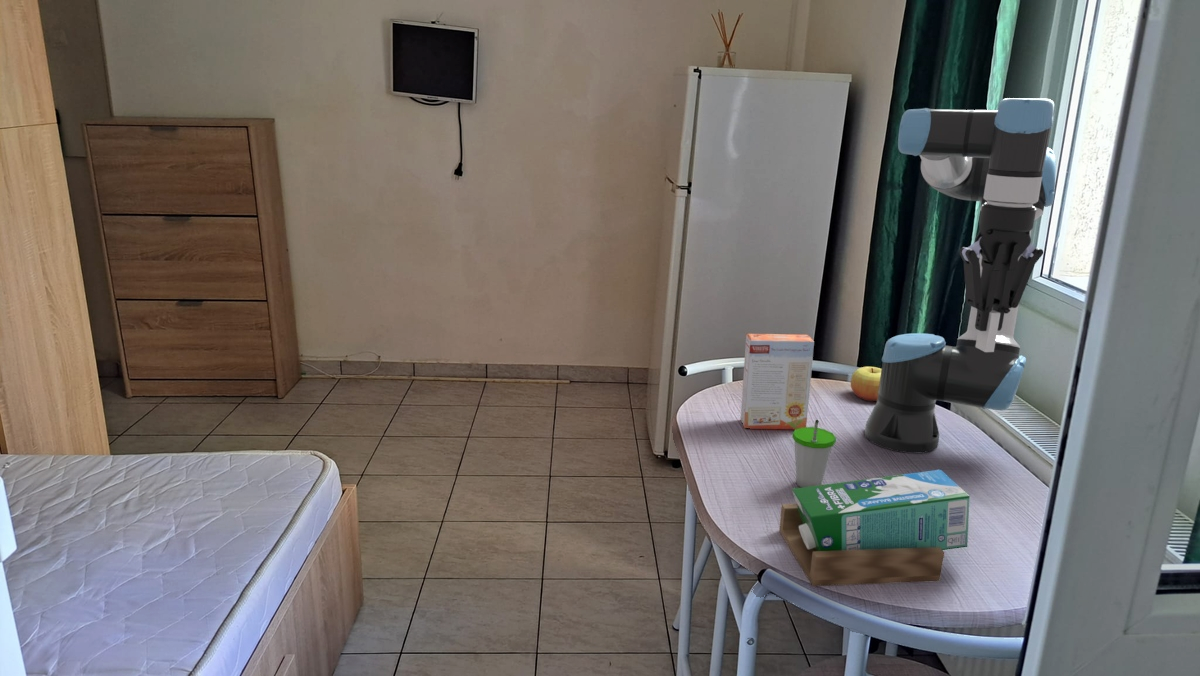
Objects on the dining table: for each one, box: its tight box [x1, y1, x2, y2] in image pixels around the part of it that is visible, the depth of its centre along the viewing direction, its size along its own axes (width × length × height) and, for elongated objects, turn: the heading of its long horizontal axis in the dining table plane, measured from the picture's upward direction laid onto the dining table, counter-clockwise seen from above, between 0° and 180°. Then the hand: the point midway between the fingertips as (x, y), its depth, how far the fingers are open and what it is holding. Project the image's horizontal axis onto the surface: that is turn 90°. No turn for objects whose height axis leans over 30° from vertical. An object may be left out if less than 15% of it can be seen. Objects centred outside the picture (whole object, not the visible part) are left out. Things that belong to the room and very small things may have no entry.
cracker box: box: [740, 333, 815, 431], centre depth 174 cm, size 14×6×21 cm, turn 89°
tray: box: [778, 503, 946, 587], centre depth 125 cm, size 20×16×5 cm
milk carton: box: [791, 469, 971, 551], centre depth 124 cm, size 9×9×25 cm
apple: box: [850, 366, 882, 402], centre depth 194 cm, size 10×10×8 cm
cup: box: [791, 419, 837, 488], centre depth 147 cm, size 8×8×15 cm
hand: (984, 349), depth 127 cm, fingers closed
